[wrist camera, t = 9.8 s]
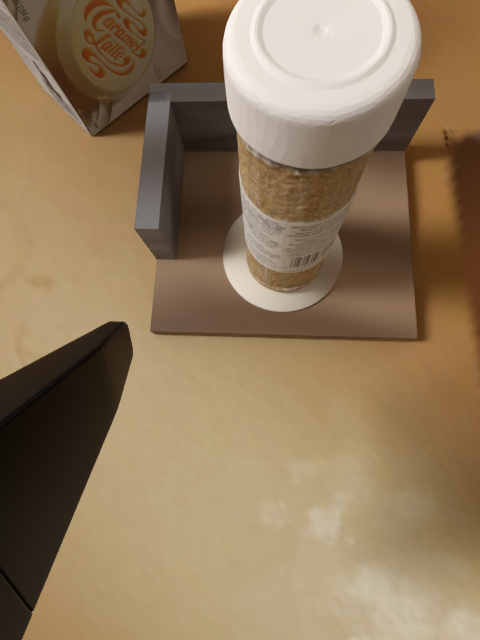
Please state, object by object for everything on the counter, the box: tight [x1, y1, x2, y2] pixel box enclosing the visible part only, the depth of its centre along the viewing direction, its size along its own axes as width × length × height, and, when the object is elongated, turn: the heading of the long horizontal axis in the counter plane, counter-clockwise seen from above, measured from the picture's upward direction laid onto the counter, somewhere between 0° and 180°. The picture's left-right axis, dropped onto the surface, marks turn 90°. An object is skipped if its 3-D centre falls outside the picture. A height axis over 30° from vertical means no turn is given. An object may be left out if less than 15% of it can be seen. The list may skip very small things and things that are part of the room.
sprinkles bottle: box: [223, 0, 422, 292], centre depth 14 cm, size 5×5×13 cm
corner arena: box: [134, 79, 435, 341], centre depth 20 cm, size 13×15×5 cm
